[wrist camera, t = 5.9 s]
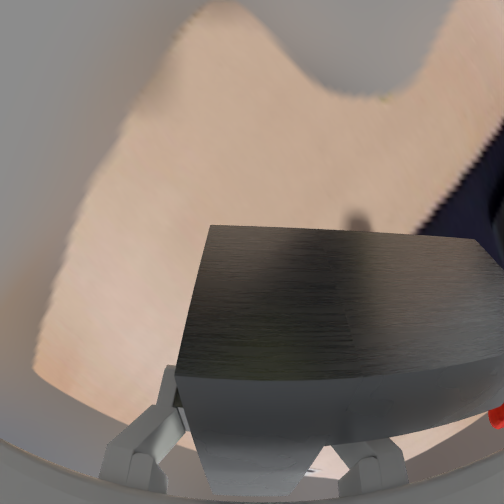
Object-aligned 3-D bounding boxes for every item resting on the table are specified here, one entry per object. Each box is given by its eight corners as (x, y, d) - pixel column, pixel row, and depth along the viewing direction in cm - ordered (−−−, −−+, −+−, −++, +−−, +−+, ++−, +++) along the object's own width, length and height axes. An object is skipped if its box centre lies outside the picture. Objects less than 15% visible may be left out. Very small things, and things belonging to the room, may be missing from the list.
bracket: (210, 225, 9) (174, 375, 4) (474, 239, 9) (555, 338, 5) (220, 397, 13) (213, 494, 9) (396, 390, 14) (420, 473, 9)
